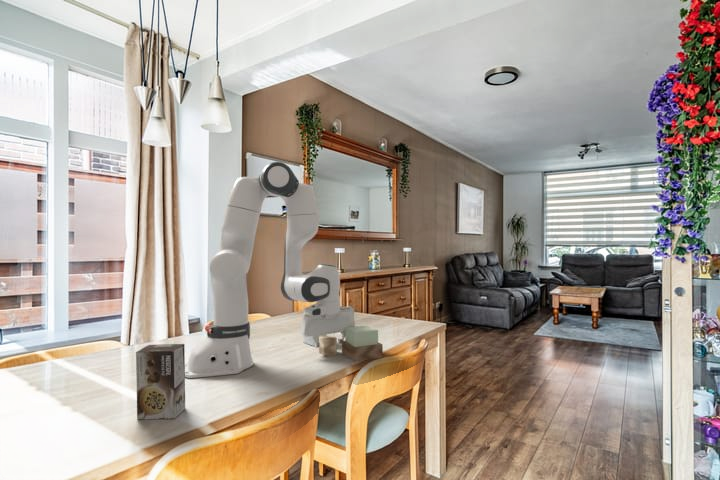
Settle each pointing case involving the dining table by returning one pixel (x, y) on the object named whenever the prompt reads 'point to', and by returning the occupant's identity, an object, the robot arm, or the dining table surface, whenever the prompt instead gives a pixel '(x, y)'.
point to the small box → (309, 340)
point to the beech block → (328, 345)
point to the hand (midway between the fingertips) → (329, 345)
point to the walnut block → (362, 351)
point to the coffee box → (160, 381)
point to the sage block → (361, 336)
